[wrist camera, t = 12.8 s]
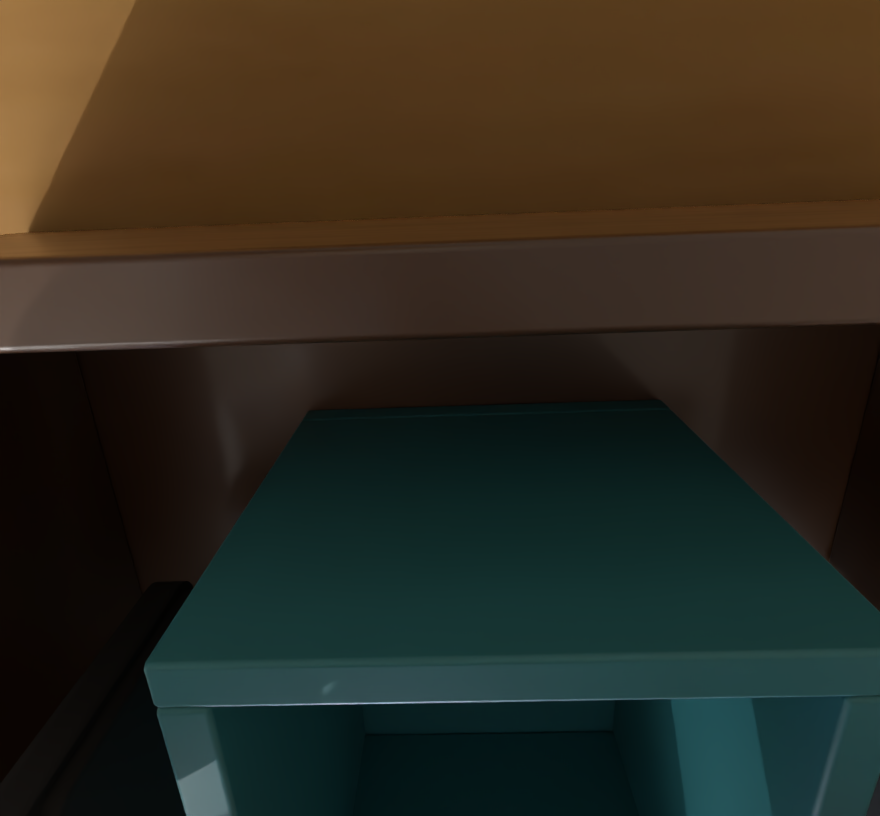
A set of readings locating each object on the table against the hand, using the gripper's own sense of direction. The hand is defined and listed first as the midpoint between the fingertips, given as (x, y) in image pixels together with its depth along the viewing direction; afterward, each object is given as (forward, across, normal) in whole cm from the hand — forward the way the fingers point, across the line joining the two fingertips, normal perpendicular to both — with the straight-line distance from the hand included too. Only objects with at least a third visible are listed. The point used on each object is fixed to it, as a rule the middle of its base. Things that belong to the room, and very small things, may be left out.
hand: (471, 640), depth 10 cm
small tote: (+2, 0, 0) cm, 2 cm away
